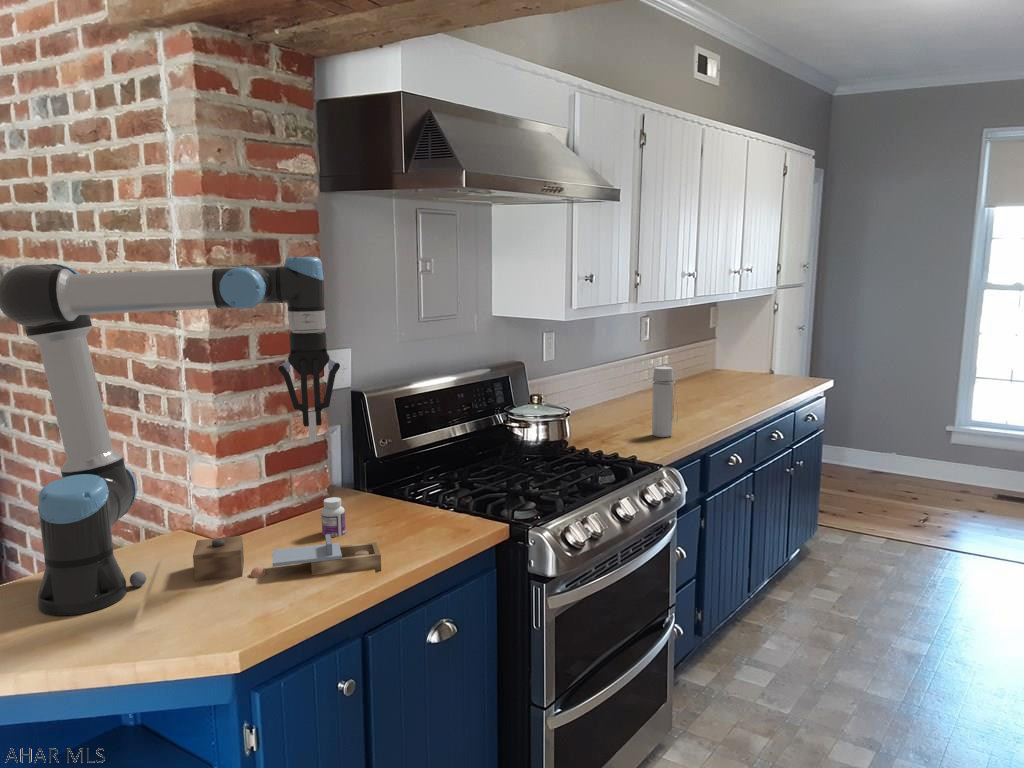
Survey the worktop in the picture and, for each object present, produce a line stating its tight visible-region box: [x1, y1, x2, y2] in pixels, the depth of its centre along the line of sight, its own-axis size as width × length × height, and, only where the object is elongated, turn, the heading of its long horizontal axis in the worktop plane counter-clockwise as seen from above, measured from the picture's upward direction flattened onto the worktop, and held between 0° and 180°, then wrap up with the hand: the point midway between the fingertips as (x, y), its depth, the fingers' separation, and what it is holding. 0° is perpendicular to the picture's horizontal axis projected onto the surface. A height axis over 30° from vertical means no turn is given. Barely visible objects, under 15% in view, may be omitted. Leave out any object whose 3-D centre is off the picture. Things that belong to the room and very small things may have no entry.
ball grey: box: [129, 571, 147, 588], centre depth 160 cm, size 3×3×3 cm
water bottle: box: [651, 366, 679, 438], centre depth 287 cm, size 9×8×25 cm
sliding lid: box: [272, 534, 342, 567], centre depth 164 cm, size 14×8×3 cm, turn 106°
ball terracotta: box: [250, 566, 267, 578], centre depth 161 cm, size 3×3×3 cm
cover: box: [192, 535, 245, 583], centre depth 163 cm, size 9×9×8 cm
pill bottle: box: [320, 496, 347, 538], centre depth 185 cm, size 5×5×10 cm
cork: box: [355, 551, 369, 556], centre depth 167 cm, size 3×3×3 cm
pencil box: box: [310, 541, 382, 576], centre depth 166 cm, size 14×8×4 cm, turn 106°
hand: (313, 440), depth 170 cm, fingers closed
